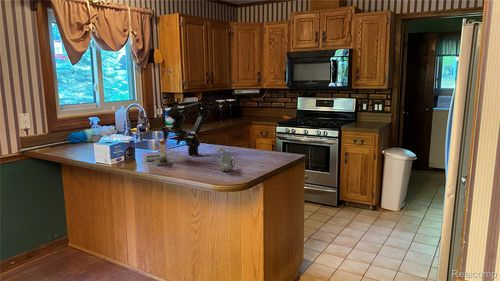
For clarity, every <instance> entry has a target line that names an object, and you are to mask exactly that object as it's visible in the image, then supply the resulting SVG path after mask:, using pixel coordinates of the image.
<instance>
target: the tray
mask: <svg viewBox="0 0 500 281" xmlns="http://www.w3.org/2000/svg"><path fill="white" fill-rule="evenodd" d="M144 160H145V161H146V162H147V163H148V161H149V162H155V160H160V154H156V155H155V154H154V155H144Z"/></svg>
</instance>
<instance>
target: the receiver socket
mask: <svg viewBox="0 0 500 281" xmlns="http://www.w3.org/2000/svg"><path fill="white" fill-rule="evenodd" d="M154 163H155V165H156V166H157V167H163V166H172V165H173V164H174V163H173V161H172V160H171V159H170V158H167V162H160V160H155V161H154Z"/></svg>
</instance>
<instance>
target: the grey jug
mask: <svg viewBox="0 0 500 281" xmlns="http://www.w3.org/2000/svg"><path fill="white" fill-rule="evenodd" d="M216 152H217V153H221V152H222V155H220V162H219V161H218V164H220V165H219V169H222V170H223V171H225V172H228V171H230V170H231V169H232V168H235V166H236V165H235V162H236V161H235V159H234V156H231V154H229V152H228V151H227V150H225V149H224V148H222V147H221V146H218V147H217V149H216Z"/></svg>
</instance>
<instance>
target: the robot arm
mask: <svg viewBox="0 0 500 281" xmlns="http://www.w3.org/2000/svg"><path fill="white" fill-rule="evenodd" d="M194 110H197V113H198V117H197V120H196V121H195V123H194V126H193V128H192V130H191V132H187V130H183V123H184V120H185V121H186V120H187V117H186V115H188V114H189V113H190V112H191V111H194ZM211 112H212V110H211V108H210V107H209V106H207V105H205V104H204V103H203V102H201V101H196V102H194V103H191V104H187V105H178V106H177V108H175V107H173V106H172V107H170V109H168V110H167V112H166V115H167V117H169V118H170V119H172V120H174V121H173V122H172V126H171V127H170V129H169V128H168V127H166V126H161V128H160V131H161V132H162V133H163V139H167V140H168V136H169V135H170V133H171V134H174V135H175V136H176V137H177V141H176V146H178V145H179V144H180V143H181V141H182V140H183V139H184V142H185V145H186V146H187V147H188V148H187V153H188V155H189V156H195V155H199V147H200V145H201V143H200V141H199V137H198V136H199V135H198V134H199V133H200V131H201V129H202V126H203V124H204V122H205V119H207V118H208V117H209V116H210V115H211Z"/></svg>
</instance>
